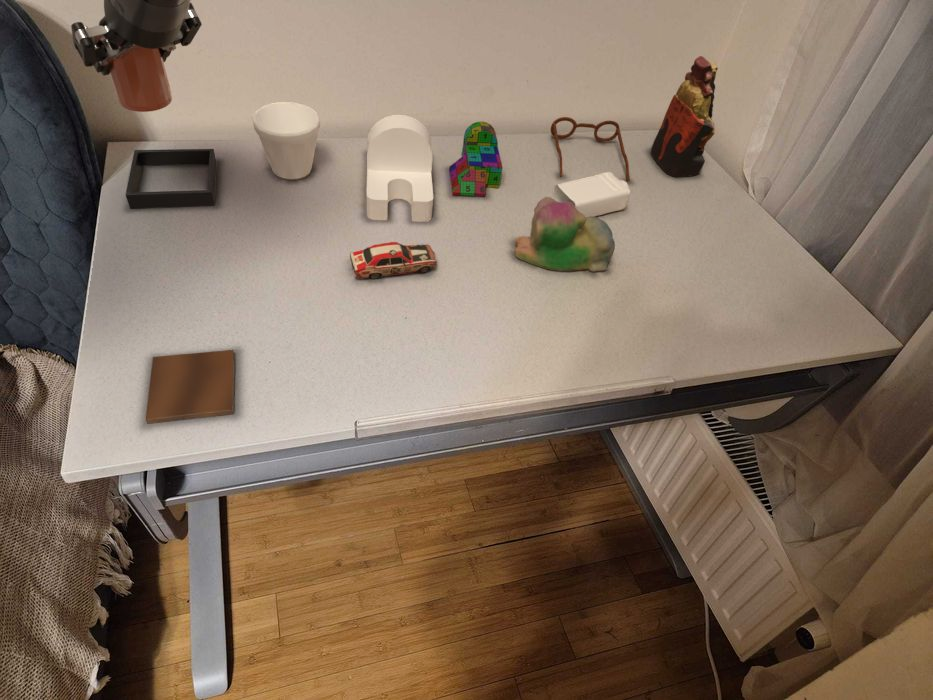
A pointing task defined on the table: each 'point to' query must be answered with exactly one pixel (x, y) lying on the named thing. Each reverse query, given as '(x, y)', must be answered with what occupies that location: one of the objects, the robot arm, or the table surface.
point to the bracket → (399, 167)
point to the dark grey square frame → (171, 197)
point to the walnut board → (191, 386)
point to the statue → (687, 123)
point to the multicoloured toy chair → (477, 162)
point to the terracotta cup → (141, 80)
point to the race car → (392, 260)
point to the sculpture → (565, 239)
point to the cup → (288, 137)
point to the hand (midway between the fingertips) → (130, 61)
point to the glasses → (575, 125)
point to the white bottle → (594, 194)
